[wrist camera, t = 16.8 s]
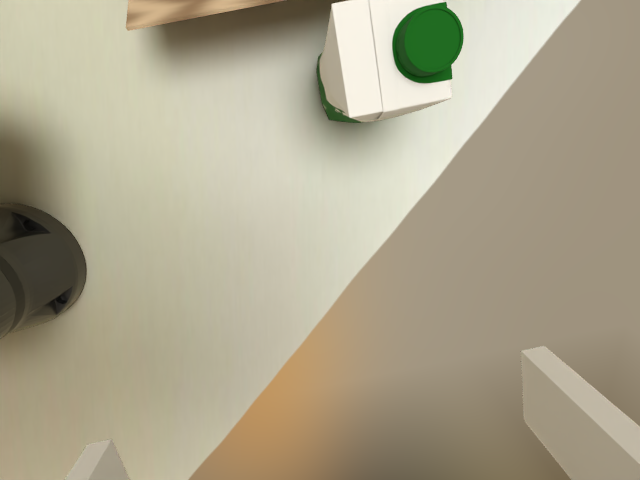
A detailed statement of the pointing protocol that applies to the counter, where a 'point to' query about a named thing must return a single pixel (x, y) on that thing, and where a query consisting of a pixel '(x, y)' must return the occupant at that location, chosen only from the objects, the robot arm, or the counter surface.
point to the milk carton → (387, 58)
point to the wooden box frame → (180, 10)
